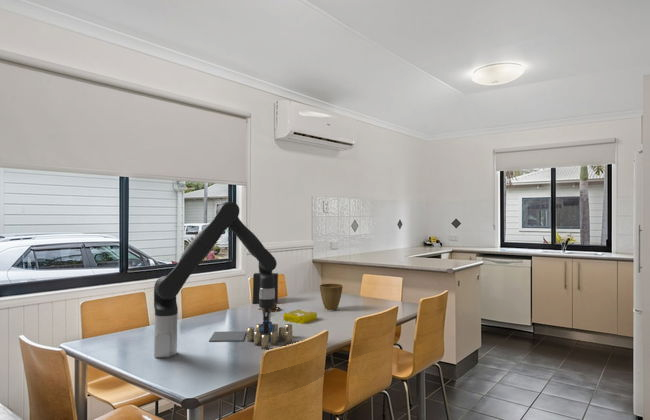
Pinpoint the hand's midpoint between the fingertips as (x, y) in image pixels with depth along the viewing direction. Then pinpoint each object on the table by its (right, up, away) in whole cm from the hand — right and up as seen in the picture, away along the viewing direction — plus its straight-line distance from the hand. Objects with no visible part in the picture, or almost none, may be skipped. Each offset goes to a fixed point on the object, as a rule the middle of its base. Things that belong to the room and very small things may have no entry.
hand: (266, 330), depth 207 cm
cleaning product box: (-13, -7, +92) cm, 93 cm away
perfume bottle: (0, -5, 0) cm, 5 cm away
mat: (-20, -5, +5) cm, 21 cm away
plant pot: (+32, -7, +71) cm, 78 cm away
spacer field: (+2, -5, 0) cm, 5 cm away
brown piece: (-9, -7, +64) cm, 65 cm away
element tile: (+14, -6, +43) cm, 46 cm away
